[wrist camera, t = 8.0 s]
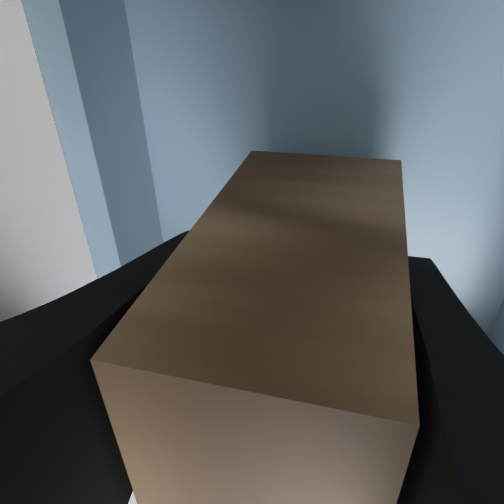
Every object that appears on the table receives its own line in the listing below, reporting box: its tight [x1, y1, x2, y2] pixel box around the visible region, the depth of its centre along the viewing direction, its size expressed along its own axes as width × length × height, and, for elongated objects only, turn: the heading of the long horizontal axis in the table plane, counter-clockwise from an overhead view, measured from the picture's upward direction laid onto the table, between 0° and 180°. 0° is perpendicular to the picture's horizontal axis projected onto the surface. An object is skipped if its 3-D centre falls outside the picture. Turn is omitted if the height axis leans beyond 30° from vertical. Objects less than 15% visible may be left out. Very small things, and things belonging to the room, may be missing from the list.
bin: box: [21, 0, 504, 355], centre depth 13 cm, size 14×14×4 cm
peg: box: [90, 151, 420, 504], centre depth 9 cm, size 4×4×8 cm
